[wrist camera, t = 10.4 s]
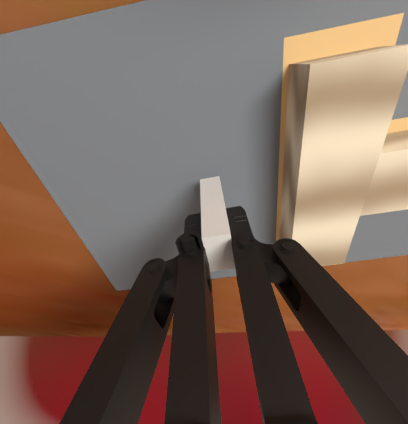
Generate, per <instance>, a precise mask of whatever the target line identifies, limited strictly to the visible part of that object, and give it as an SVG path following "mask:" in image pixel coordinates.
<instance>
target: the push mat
mask: <svg viewBox="0 0 408 424" xmlns="http://www.w3.org/2000/svg"><path fill="white" fill-rule="evenodd" d="M405 44H408V0H145V1H141V2H137V3H133V4H128V5H124V6H120V7H116V8H111V9H107V10H103V11H99V12H94V13H90V14H86V15H82V16H77V17H73V18H69V19H65V20H60V21H56V22H52V23H48V24H44V25H39V26H35V27H31V28H27V29H22V30H18V31H14V32H10V33H5V34H1V35H0V122H1V124H2V125H3V127H4V128H5V129H6V131H7V132H8V134H9V135H10V137H11V138H12V140H13V141H14V143H15V144H16V145H17V147H18V148H19V150H20V151H21V153H22V154H23V156H24V157H25V159H26V160H27V161H28V163H29V164H30V166H31V167H32V169H33V170H34V172H35V173H36V175H37V176H38V177H39V179H40V180H41V182H42V183H43V185H44V186H45V188H46V189H47V190H48V192H49V193H50V195H51V196H52V198H53V199H54V201H55V202H56V204H57V205H58V206H59V208H60V209H61V211H62V212H63V214H64V215H65V217H66V218H67V220H68V221H69V222H70V224H71V225H72V227H73V228H74V230H75V231H76V233H77V234H78V236H79V237H80V238H81V240H82V241H83V243H84V244H85V246H86V247H87V249H88V250H89V252H90V253H91V254H92V256H93V257H94V259H95V260H96V262H97V263H98V265H99V266H100V267H101V269H102V270H103V272H104V273H105V275H106V276H107V278H108V279H109V281H110V282H111V283H112V285H113V286H114V288H115V289H116V291H120V290H128V289H131V288H132V286H133V284H134V282H135V280H136V278H137V277H138V275H139V273H140V271H141V269H142V267H143V266H144V265H145V263H147V262H148V261H149V260H152V259H155V258H160V259H163V260H164V261H168V260H170V259H172V258H174V257H176V256H177V255H179V252H178V249H177V246H176V243H175V242H176V239H177V238H178V237H179V236H180V235H182V234H184V227H185V226H184V224H185V219H186V218H187V216H188V215H191V214H197V213H201V198H200V179H205V178H211V177H216V176H219V177H220V182H221V187H222V192H223V197H224V202H225V207H226V208H230V207H236V206H241V207H242V208H243V209H245V212H246V215H247V218H248V221H249V224H250V227H251V230H252V233H253V236H254V238H255V239H256V240H257V241H259V242H261V243H265V244H273V245H274V243H275V242H276V241H277V240H279V236H280V218H281V200H282V182H283V165H284V147H285V129H286V112H287V94H288V76H289V64H291V63H297V62H302V61H307V60H312V59H317V58H322V57H327V56H332V55H337V54H342V53H347V52H352V51H357V50H362V49H368V48H373V47H382V46H394V45H405ZM405 130H408V71H407V74H406V77H405V80H404V84H403V87H402V90H401V93H400V96H399V99H398V102H397V105H396V108H395V111H394V114H393V117H392V120H391V123H390V126H389V129H388V132H387V133H393V132H399V131H405ZM401 255H408V209H407V210H399V211H392V212H385V213H378V214H371V215H363V216H360V217H359V220H358V223H357V226H356V229H355V232H354V235H353V238H352V241H351V244H350V247H349V251H348V254H347V257H346V260H345V262H353V261H361V260H369V259H377V258H385V257H393V256H401ZM233 276H236V269H228V270H220V271H213V272H210V277H211V279H216V278H224V277H233Z"/></svg>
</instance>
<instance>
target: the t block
mask: <svg viewBox="0 0 408 424" xmlns="http://www.w3.org/2000/svg"><path fill="white" fill-rule="evenodd" d="M407 71H408V44H405V45H394V46H382V47H373V48H368V49H362V50H357V51H352V52H347V53H342V54H337V55H332V56H327V57H322V58H317V59H312V60H307V61H302V62H297V63H291V64H289V76H288V94H287V112H286V129H285V147H284V165H283V182H282V200H281V218H280V236H279V239H283V238H289V239H293V240H296V241H297V242H298V243H300V244H301V245H302V246H303V247H304V249H305V250H306V251H307V252H308V253H309V254H310V255H311V256H312V257H313V258H314V259H315V260H316V261H317V262H318V263H319V264H320V265H321V266H327V265H335V264H344V263H345V260H346V257H347V254H348V251H349V247H350V244H351V241H352V238H353V235H354V232H355V229H356V226H357V223H358V220H359V217H360V216H363V215H371V214H378V213H385V212H392V211H399V210H407V209H408V130H405V131H399V132H393V133H387V132H388V129H389V126H390V123H391V120H392V117H393V114H394V111H395V108H396V105H397V102H398V99H399V96H400V93H401V90H402V87H403V84H404V80H405V77H406V74H407Z"/></svg>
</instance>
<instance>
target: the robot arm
mask: <svg viewBox="0 0 408 424" xmlns="http://www.w3.org/2000/svg"><path fill="white" fill-rule="evenodd" d="M200 198H201V213H197V214H191V215H188V216H187V218H186V219H185V224H184V226H185V227H184V234H182V235H180V236H179V237H178V238H177V239H176V242H175V243H176V246H177V249H178V252H179V255H177V256H176V257H174V258H172V259H170V260H168V261H164V260H163V259H160V258H155V259H152V260H149V261H148V262H147V263H145V265H144V266H143V267H142V269H141V271H140V273H139V275H138V277H137V278H136V280H135V282H134V284H133V286H132V288H131V290H130V292H129V294H128V295H127V297H126V299H125V301H124V303H123V305H122V307H121V309H120V311H119V312H118V314H117V316H116V318H115V320H114V322H113V324H112V326H111V328H110V329H109V331H108V333H107V335H106V337H105V339H104V341H103V343H102V345H101V347H100V348H99V350H98V352H97V354H96V356H95V358H94V360H93V361H92V364H91V365H90V367H89V369H88V371H87V373H86V375H85V377H84V379H83V381H82V382H81V384H80V386H79V388H78V390H77V392H76V394H75V395H74V397H73V399H72V401H71V403H70V405H69V407H68V409H67V411H66V412H65V414H64V416H63V418H62V420H61V422H60V424H138V421H139V418H140V415H141V412H142V409H143V406H144V403H145V399H146V397H147V393H148V390H149V387H150V384H151V381H152V378H153V375H154V372H155V368H156V366H157V362H158V359H159V356H160V353H161V350H162V347H163V344H164V341H165V338H166V335H167V332H168V329H169V325H170V322H171V319H172V316H173V313H174V320H173V331H172V343H171V355H170V366H169V377H168V389H167V401H166V412H165V424H221V412H220V397H219V383H218V368H217V355H216V340H215V325H214V311H213V297H212V282H211V277H210V272H213V271H220V270H228V269H236V276H237V283H238V287H239V293H240V298H241V304H242V309H243V315H244V320H245V326H246V331H247V336H248V342H249V348H250V353H251V359H252V364H253V370H254V375H255V381H256V386H257V392H258V397H259V403H260V408H261V414H262V419H263V424H318V423H317V421H316V419H315V416H314V413H313V410H312V407H311V404H310V401H309V398H308V395H307V392H306V389H305V386H304V383H303V380H302V377H301V374H300V371H299V367H298V364H297V362H296V358H295V355H294V352H293V350H292V346H291V343H290V340H289V338H288V334H287V331H286V328H285V325H284V322H283V319H282V316H281V313H280V310H279V307H278V304H277V301H276V298H275V295H274V291H273V288H272V285H271V283H274V284H275V286H276V288H277V289H278V291H279V292H280V294H281V295H282V297H283V298H284V300H285V301H286V303H287V304H288V306H289V307H290V309H291V310H292V312H293V313H294V315H295V317H296V318H297V320H298V321H299V323H300V324H301V326H302V327H303V329H304V330H305V332H306V333H307V335H308V336H309V338H310V339H311V341H312V342H313V344H314V345H315V347H316V349H317V350H318V352H319V353H320V355H321V356H322V358H323V359H324V361H325V362H326V364H327V365H328V367H329V368H330V370H331V371H332V373H333V374H334V376H335V378H336V379H337V381H338V382H339V384H340V385H341V387H342V388H343V390H344V391H345V393H346V394H347V396H348V397H349V399H350V400H351V402H352V404H353V405H354V406H355V408H356V410H357V411H358V413H359V414H360V416H361V417H362V419H363V420H364V422H365V423H366V424H408V356H407V355H406V354H405V352H404V351H403V350H402V349H401V348H400V347H399V346H398V345H397V344H396V343H395V342H394V341H393V340H392V339H391V338H390V337H389V336H388V335H387V334H386V333H385V332H384V331H383V330H382V329H381V327H380V326H379V325H378V324H377V323H376V322H375V321H374V320H373V319H372V318H371V317H370V316H369V315H368V314H367V313H366V312H365V311H364V310H363V309H362V308H361V307H360V306H359V305H358V304H357V303H356V302H355V300H354V299H353V298H352V297H351V296H350V295H349V294H348V293H347V292H346V291H345V290H344V289H343V288H342V287H341V286H340V285H339V284H338V283H337V282H336V281H335V280H334V279H333V278H332V277H331V276H330V274H329V273H328V272H327V271H326V270H325V269H324V268H323V267H322V266H321V265H320V264H319V263H318V262H317V261H316V260H315V259H314V258H313V257H312V256H311V255H310V254H309V253H308V252H307V251H306V250H305V249H304V247H303V246H302V245H301V244H300V243H298V242H297V241H296V240H293V239H289V238H283V239H279V240H277V241H276V242H275V243H274V245H273V244H265V243H261V242H259V241H257V240H256V239H255V238H254V236H253V233H252V230H251V227H250V224H249V221H248V218H247V215H246V212H245V209H243V208H242V207H241V206H236V207H230V208H226V207H225V202H224V197H223V192H222V187H221V182H220V177H219V176H216V177H211V178H205V179H200Z"/></svg>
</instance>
